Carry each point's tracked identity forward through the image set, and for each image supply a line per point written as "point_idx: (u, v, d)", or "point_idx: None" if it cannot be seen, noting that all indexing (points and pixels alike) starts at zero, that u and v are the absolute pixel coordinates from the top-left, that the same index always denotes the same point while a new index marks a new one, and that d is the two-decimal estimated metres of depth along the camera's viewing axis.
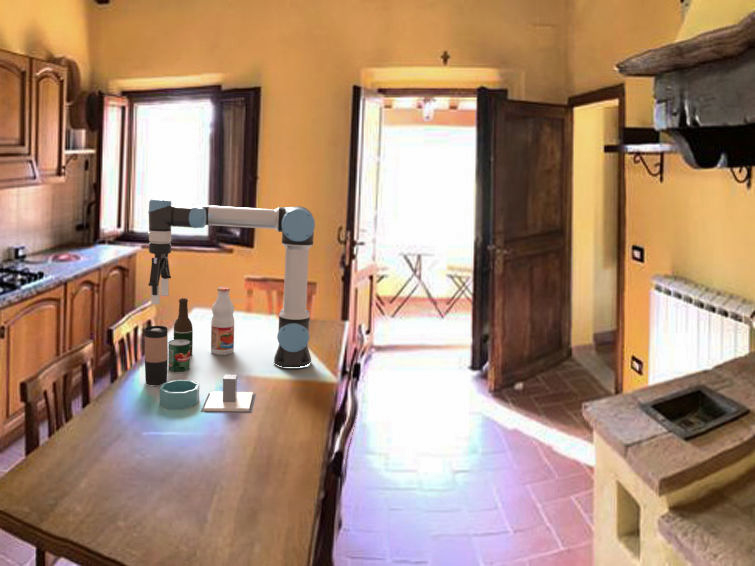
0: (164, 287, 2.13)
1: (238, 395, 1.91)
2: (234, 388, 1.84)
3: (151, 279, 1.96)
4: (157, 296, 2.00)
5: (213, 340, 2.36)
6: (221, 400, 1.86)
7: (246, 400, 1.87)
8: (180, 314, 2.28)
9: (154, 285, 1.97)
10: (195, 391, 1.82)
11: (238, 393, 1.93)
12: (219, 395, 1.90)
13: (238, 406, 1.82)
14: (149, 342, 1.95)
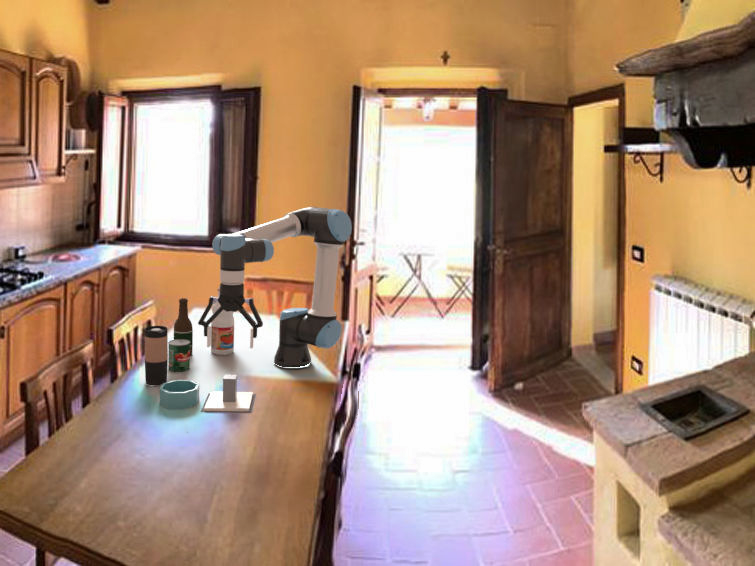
0: None
1: (238, 395, 1.91)
2: (234, 388, 1.84)
3: None
4: (207, 338, 1.81)
5: (213, 340, 2.36)
6: (221, 400, 1.86)
7: (246, 400, 1.87)
8: (180, 314, 2.28)
9: None
10: (195, 391, 1.82)
11: (238, 393, 1.93)
12: (219, 395, 1.90)
13: (238, 406, 1.82)
14: (149, 342, 1.95)
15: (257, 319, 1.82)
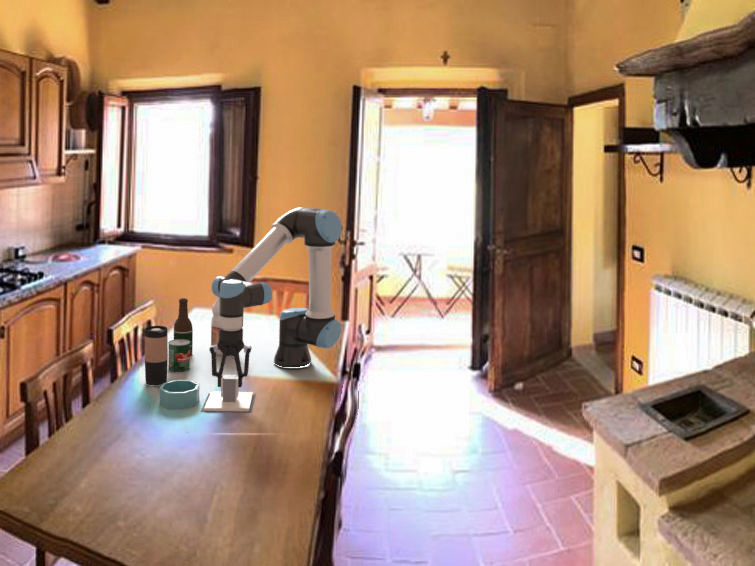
0: None
1: (238, 395, 1.91)
2: (234, 388, 1.84)
3: None
4: (221, 389, 1.85)
5: (213, 340, 2.36)
6: (221, 400, 1.86)
7: (246, 400, 1.87)
8: (180, 314, 2.28)
9: None
10: (195, 391, 1.82)
11: None
12: (219, 395, 1.90)
13: (238, 406, 1.82)
14: (149, 342, 1.95)
15: (245, 368, 1.84)
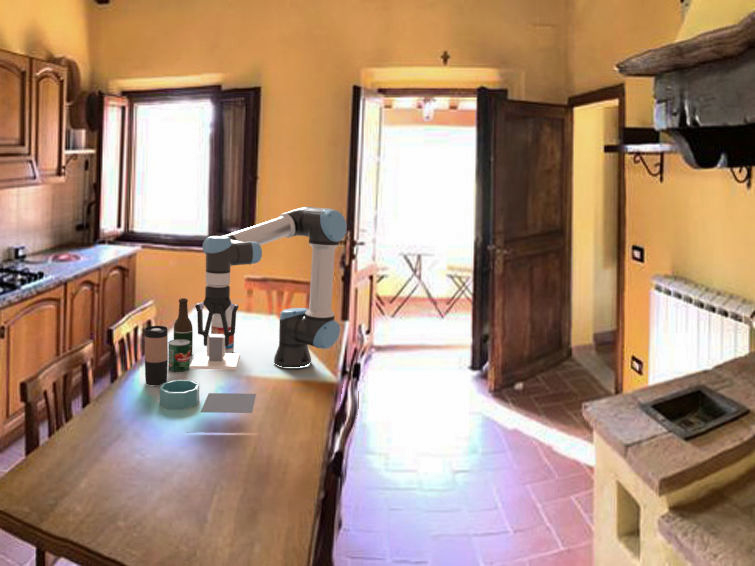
0: None
1: (225, 355, 1.88)
2: (221, 347, 1.81)
3: None
4: (207, 347, 1.82)
5: None
6: (208, 359, 1.82)
7: (233, 360, 1.84)
8: (180, 314, 2.28)
9: None
10: (195, 391, 1.82)
11: (225, 354, 1.89)
12: (205, 355, 1.86)
13: (225, 365, 1.79)
14: (149, 342, 1.95)
15: (232, 327, 1.81)
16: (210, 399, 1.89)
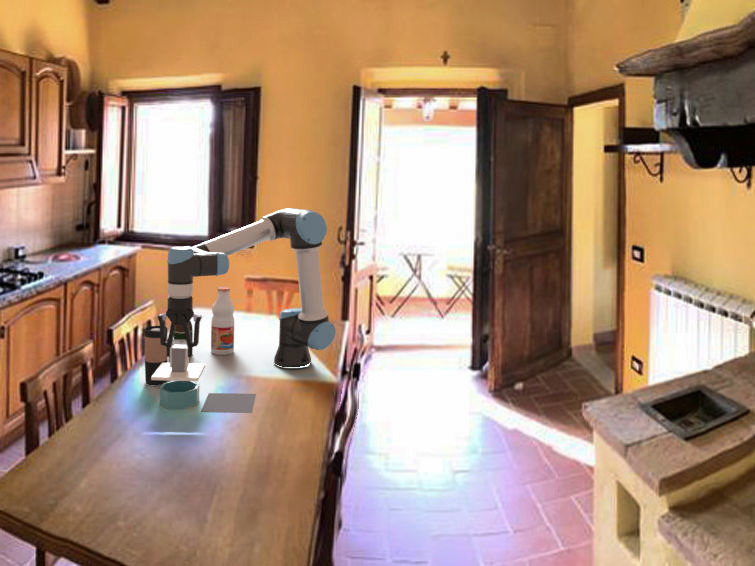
0: None
1: (189, 366, 1.87)
2: (183, 358, 1.80)
3: None
4: None
5: (213, 340, 2.36)
6: (171, 370, 1.82)
7: (196, 371, 1.83)
8: None
9: None
10: (195, 391, 1.82)
11: (190, 364, 1.88)
12: (169, 366, 1.86)
13: (187, 376, 1.78)
14: (149, 342, 1.95)
15: (195, 338, 1.80)
16: (210, 399, 1.89)
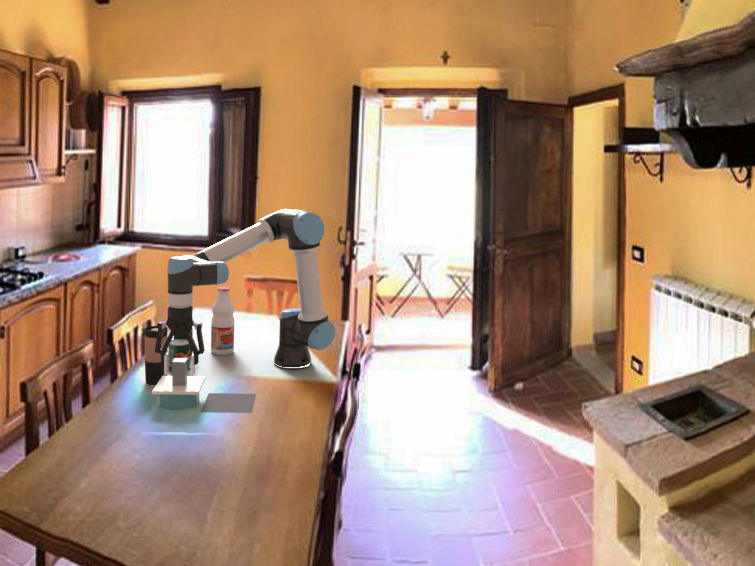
0: None
1: (189, 379, 1.88)
2: (184, 371, 1.81)
3: None
4: None
5: (213, 340, 2.36)
6: (171, 384, 1.83)
7: (197, 384, 1.84)
8: None
9: None
10: None
11: (190, 377, 1.89)
12: (170, 379, 1.87)
13: (187, 389, 1.79)
14: (149, 342, 1.95)
15: (200, 345, 1.81)
16: (210, 399, 1.89)
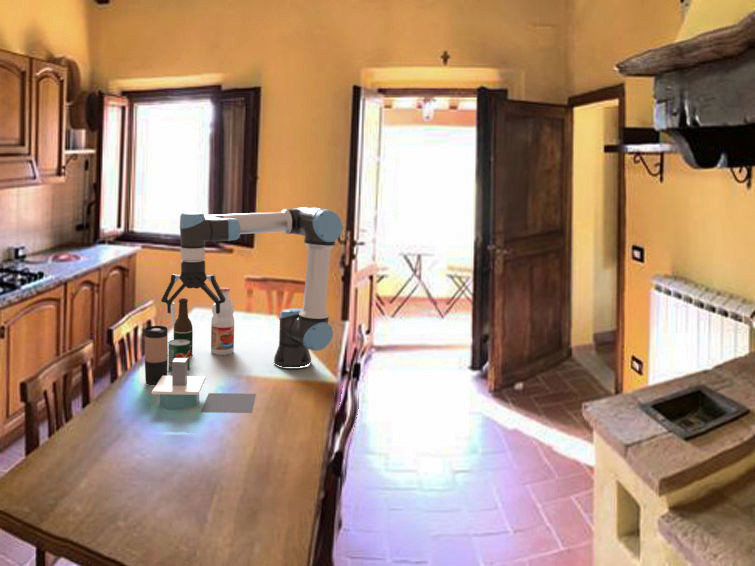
0: None
1: (189, 379, 1.88)
2: (184, 371, 1.81)
3: None
4: (171, 315, 1.86)
5: (213, 340, 2.36)
6: (171, 384, 1.83)
7: (197, 384, 1.84)
8: (180, 314, 2.28)
9: None
10: None
11: (190, 377, 1.89)
12: (170, 379, 1.87)
13: (187, 389, 1.79)
14: (149, 342, 1.95)
15: (219, 295, 1.86)
16: (210, 399, 1.89)
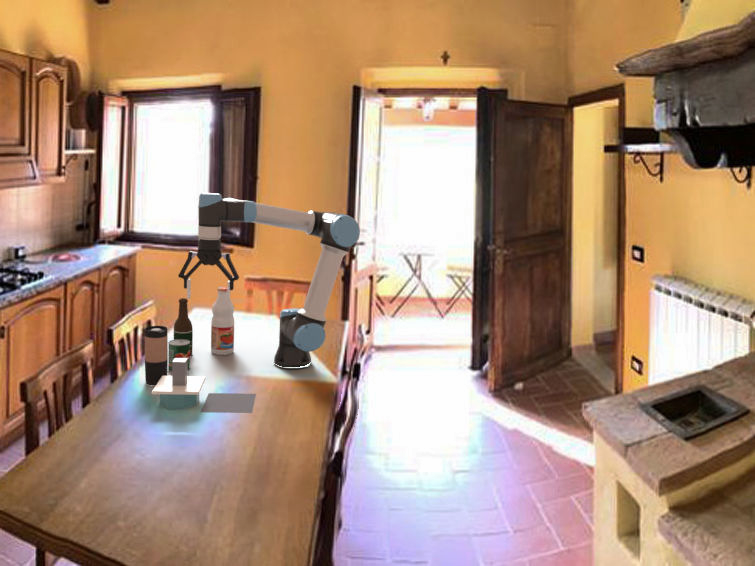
0: None
1: (189, 379, 1.88)
2: (184, 371, 1.81)
3: None
4: (187, 290, 1.95)
5: (213, 340, 2.36)
6: (171, 384, 1.83)
7: (197, 384, 1.84)
8: (180, 314, 2.28)
9: None
10: None
11: (190, 377, 1.89)
12: (170, 379, 1.87)
13: (187, 389, 1.79)
14: (149, 342, 1.95)
15: (233, 272, 1.96)
16: (210, 399, 1.89)
